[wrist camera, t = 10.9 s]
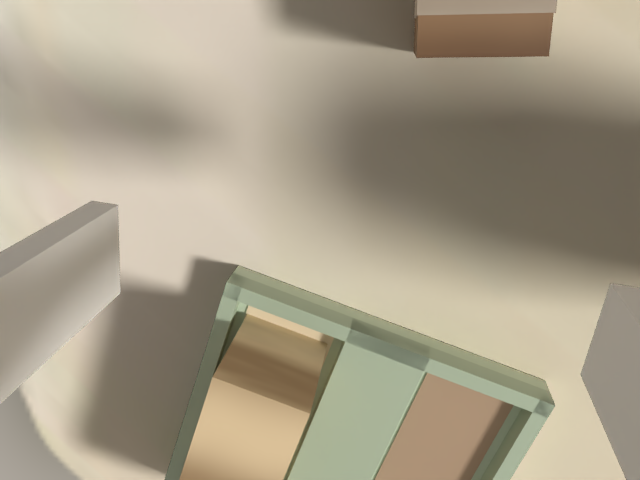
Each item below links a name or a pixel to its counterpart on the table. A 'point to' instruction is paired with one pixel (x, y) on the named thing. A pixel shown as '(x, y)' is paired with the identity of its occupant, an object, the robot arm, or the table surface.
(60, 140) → the table surface
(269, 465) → the oak bar
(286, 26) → the table surface
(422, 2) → the walnut bar
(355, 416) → the pale green flat frame
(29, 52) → the table surface
